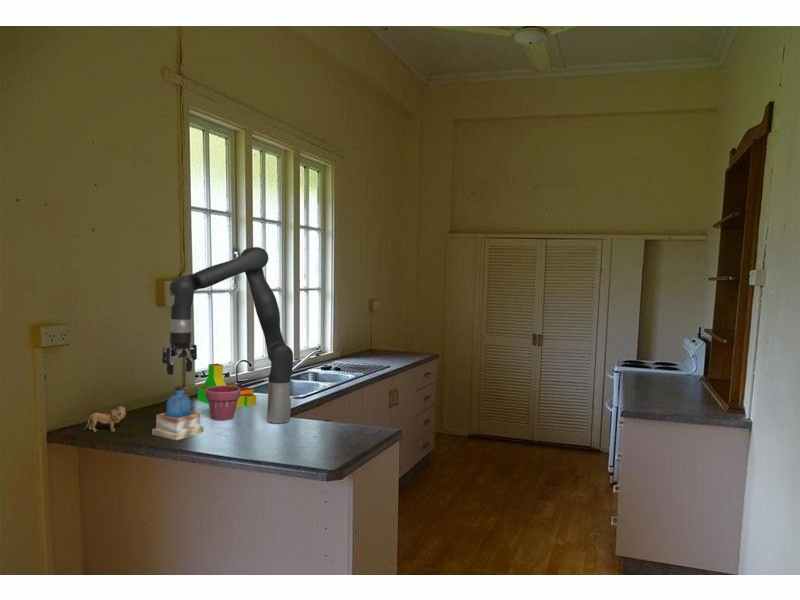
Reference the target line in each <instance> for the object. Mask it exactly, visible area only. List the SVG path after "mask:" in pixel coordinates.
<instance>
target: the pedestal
mask: <svg viewBox="0 0 800 600" xmlns="http://www.w3.org/2000/svg"><path fill="white" fill-rule="evenodd" d="M166 414H167V411H166V412H162V413H158V414H156V415H155V416H156V419H155V420H156V424H155V428H152V429H151V435H153V436H157V437H161V438H166V439H168V440H174V441H179V440H182V439H185V438H189V437H192V435H193V436H195V435H199V434H202V432H203V433H204V427H203V426H200V425H201V413H200V412H194V411H191V415H188V416H184V417H181V418H173V417H169V416H166Z"/></svg>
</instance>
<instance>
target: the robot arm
mask: <svg viewBox="0 0 800 600" xmlns="http://www.w3.org/2000/svg"><path fill="white" fill-rule="evenodd" d="M268 261H269V254H268V252H267V251H266V249H264V248H262V247H258V246H253V247H247V248H245V249H244V250H243V251H242V252H241V254H240V256H238V257H235V258H233V259H231V260H227V261H225V262H221V263H217V264H214V265H210V266H209V267H205V268H203V269H201V270H198V271H196V272H194V273H191V274H188V275H184V276H181V277H177V278H176V279H174V280H172V281H171V283H170V285H169V291H170V293H171V294H172V295H173V296H174V301H173V304H172V305H171V311H170V312H171V313H170V314H171V315H170V325H169V343H170V347H166V346H165V347H163V348H162V360H161V363H162V364H165V365H166V374H167V375H170V376H172V375H174V364H175V361H177V360H178V358H179V359H180V358H184V359H185V360H186V362H185V371H186V372H192V370H193V362H194V361H196V360H197V359H198V353H197V352H198V350H197V349H198V346H197V344H190V343H191V342H192V320H191V319H192V305H193V302H194V301H193V299H194V295H195V291H197V290H203V289H206V288H209V287H211V286H214V285H216V284H218V283H222V282H223V281H225V280H228V279H229V278H233V277H234V276H237V275H239V274H243V273H245V276H246V278H247V282H248V285H249V289H250V293H251V297H252V301H253V305H254V308H255V313H256V315H257V318H258V321H259V324H260V328H261V330H262V333H263V336H264V340H265V341H264V342H265V347H266V348H265V349H266V353H267V358H268V359H269V361H270V372H269V374H268V381H267V410H266V411H267V412H266V422H267V421H268V422H267V423H269V422H273V423H272V424H274V423H279V422H285V421H287V420H289V419H290V420H291V412H292V411H291V407H292V398H291V379H292V375H293V366H294V353H293V350H292V348H291V347H289V346H288V345H286V343H285V341H284V337H283V334H282V331H281V317H280V316H281V315H280V307H279V305H278V301H277V297H276V295H275V293H274V292H273V290H272V288H271V287H270V285H269V284H268V281H267V279H266V277H265V274H264V269H263V268H264V267H266V266H267V264H268ZM290 420H289V421H290Z"/></svg>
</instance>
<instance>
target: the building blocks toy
mask: <svg viewBox="0 0 800 600" xmlns="http://www.w3.org/2000/svg"><path fill="white" fill-rule="evenodd" d="M207 373H208V376H207V378H206V379H205V382H204V383H203V385H202V386H199V387H198V386H197V401H199V402H202V403H204V404H207V405H209V403H208V399H206V389H207V388H210V387H214V386H236V387H237V385H236V384H237V383H235V382H230V383H226V382H225V380H224V364H220V363H210V364H208V370H207ZM239 388H240V398H238V402H237V406H236V409H239V407H244V405H245V407H247V406H248V407H253V405H254V406H256V405H257V394H255V391H254V389H253V388H251V387H248V386H246V387H239Z"/></svg>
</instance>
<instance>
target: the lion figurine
mask: <svg viewBox="0 0 800 600" xmlns="http://www.w3.org/2000/svg"><path fill="white" fill-rule="evenodd" d="M126 414H127V413H126V407H124V406H117V407H116V408H114V409H112V410H110V411H109V412H107V413H101V412H94V413H92V414H91V415H90V416H89V418H88V421H87V424H86V426H85V427H84V428H83V429H82V430H83V431H85V430H86V429H87V428H88V429H89V430H93V432H96V431H97V432H98V429H96V425H97V422H99V423H101V424H109V426H110V432H115V431H116V428H115V427H114V426H115V424H116V423H117V424H118V423H120V421H122V420H123V419H124V418H125V417H126V416H127V415H126ZM97 432H96V433H97Z"/></svg>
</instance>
